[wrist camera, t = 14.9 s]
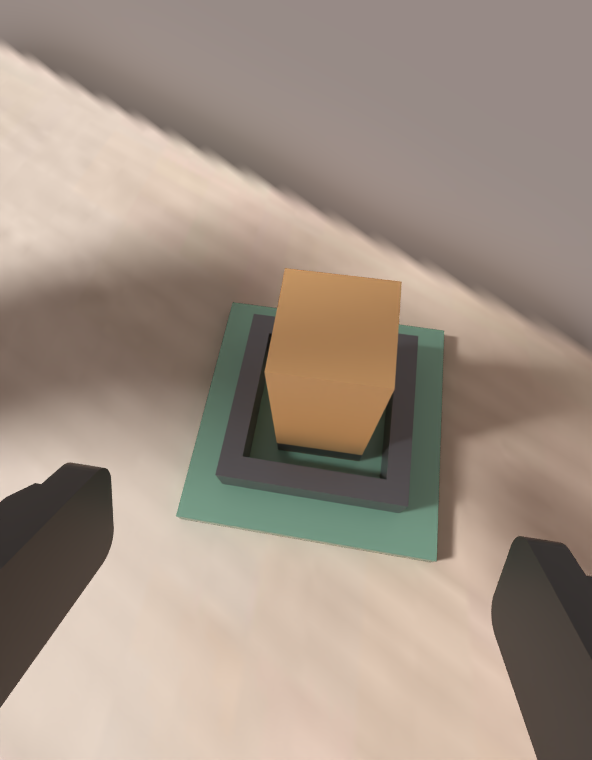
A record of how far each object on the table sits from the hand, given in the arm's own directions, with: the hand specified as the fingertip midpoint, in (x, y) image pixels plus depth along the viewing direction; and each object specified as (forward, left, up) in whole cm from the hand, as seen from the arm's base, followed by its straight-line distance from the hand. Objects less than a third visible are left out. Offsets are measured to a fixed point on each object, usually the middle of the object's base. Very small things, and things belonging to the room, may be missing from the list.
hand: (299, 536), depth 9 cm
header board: (0, +7, -13) cm, 15 cm away
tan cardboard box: (0, +7, -12) cm, 14 cm away
